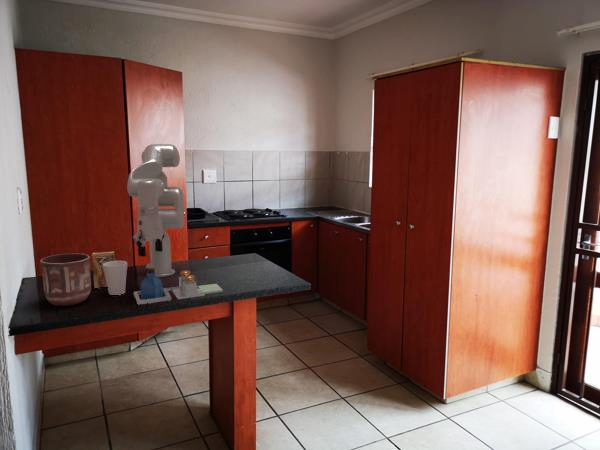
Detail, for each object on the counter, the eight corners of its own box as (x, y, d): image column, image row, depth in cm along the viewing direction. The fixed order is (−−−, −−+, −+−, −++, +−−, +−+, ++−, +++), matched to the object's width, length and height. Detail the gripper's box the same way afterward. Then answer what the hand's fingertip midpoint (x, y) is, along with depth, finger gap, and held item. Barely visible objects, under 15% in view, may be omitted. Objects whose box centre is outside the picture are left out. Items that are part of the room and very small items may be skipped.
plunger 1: (182, 289, 195) (181, 273, 194) (180, 286, 199) (179, 271, 198) (191, 288, 197) (190, 272, 196) (189, 285, 201) (188, 270, 199)
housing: (137, 304, 180) (136, 290, 179) (133, 294, 192) (132, 281, 192) (204, 295, 191) (204, 282, 190) (196, 286, 204) (196, 273, 203)
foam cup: (114, 298, 188) (112, 267, 185) (100, 294, 192) (98, 264, 190) (133, 292, 196) (131, 262, 193) (119, 288, 200) (117, 259, 198)
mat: (199, 294, 192) (199, 292, 192) (194, 288, 201) (194, 286, 201) (222, 291, 197) (222, 289, 197) (216, 285, 206) (216, 283, 205)
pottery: (40, 312, 172) (37, 265, 169) (45, 298, 188) (42, 255, 185) (92, 306, 179) (90, 261, 176) (93, 293, 195) (90, 251, 192)
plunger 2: (186, 294, 188) (185, 278, 187) (184, 291, 192) (183, 275, 191) (195, 293, 190) (195, 276, 189) (193, 290, 193) (193, 274, 192)
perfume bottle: (155, 300, 185) (153, 271, 183) (141, 299, 186) (139, 271, 184) (162, 296, 191) (161, 268, 189) (149, 295, 192) (147, 267, 190)
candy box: (116, 284, 207) (114, 251, 204) (116, 287, 203) (113, 253, 200) (94, 286, 204) (92, 252, 201) (94, 289, 200) (91, 254, 197)
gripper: (140, 214, 173) (142, 259, 176) (170, 209, 189) (172, 250, 192) (125, 213, 176) (127, 257, 179) (156, 208, 192) (158, 248, 195)
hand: (150, 253), depth 185 cm, fingers open, 9 cm apart
